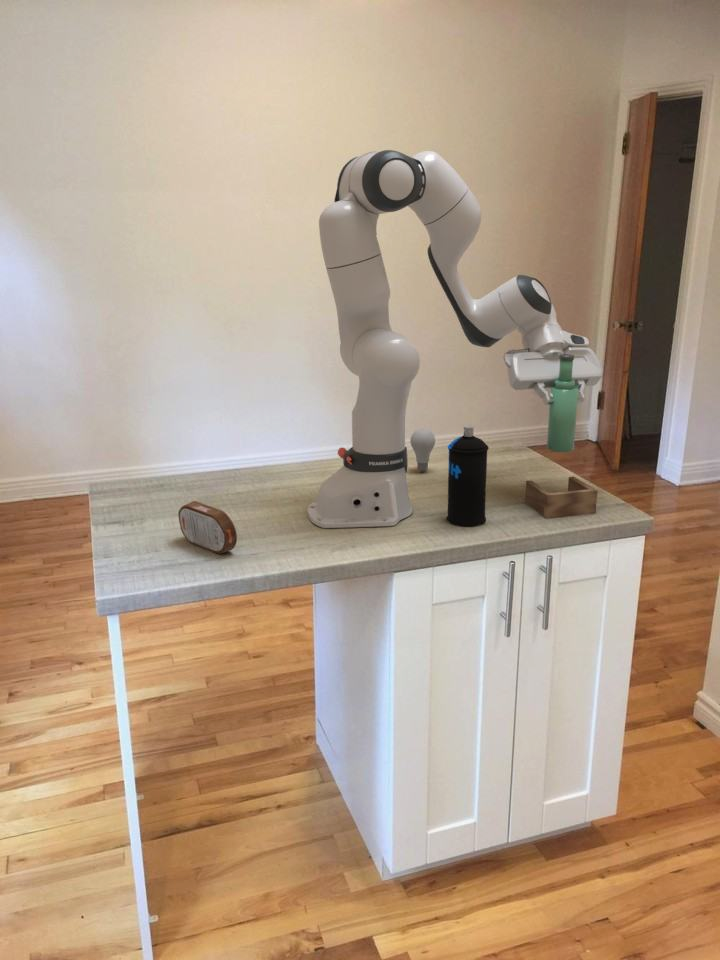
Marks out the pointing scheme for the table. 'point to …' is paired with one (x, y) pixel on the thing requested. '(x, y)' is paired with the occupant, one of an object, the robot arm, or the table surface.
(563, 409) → the bottle
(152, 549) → the table surface
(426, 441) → the lightbulb
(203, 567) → the table surface
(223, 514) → the tin
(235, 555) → the table surface
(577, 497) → the u rest
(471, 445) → the aerosol can
